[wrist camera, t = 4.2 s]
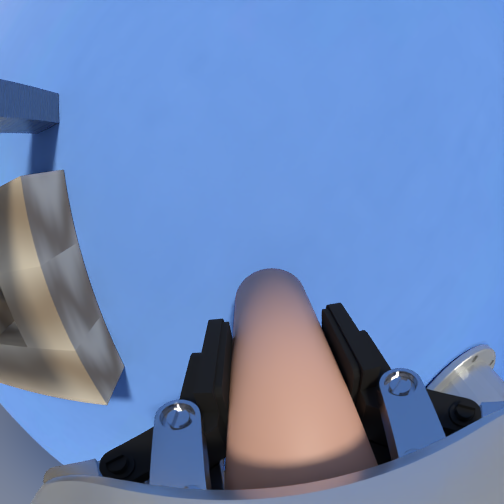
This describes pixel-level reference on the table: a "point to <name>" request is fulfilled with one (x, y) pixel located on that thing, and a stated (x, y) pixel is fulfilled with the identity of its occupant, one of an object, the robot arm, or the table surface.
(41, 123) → the grey piece
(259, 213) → the table surface
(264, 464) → the peg
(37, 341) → the socket block
